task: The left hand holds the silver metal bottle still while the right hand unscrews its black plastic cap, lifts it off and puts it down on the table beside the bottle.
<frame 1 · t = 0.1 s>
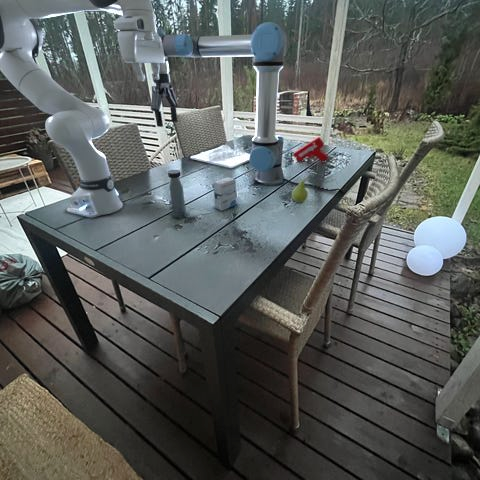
left hand: (149, 80, 86), 48 cm above the table, tool pointing down, fingers open, 8 cm apart
right hand: (167, 124, 132), 28 cm above the table, tool pointing down, fingers open, 13 cm apart
toy gun: (309, 161, 172), on the table
bottle: (180, 215, 112), on the table
relief map: (224, 158, 180), on the table
cap: (174, 172, 102), point 18 cm above the table, screwed on, not yet turned
ink box: (225, 206, 118), on the table
fruit: (299, 202, 122), on the table
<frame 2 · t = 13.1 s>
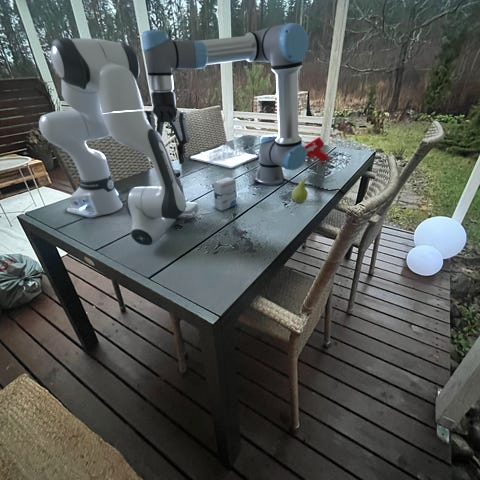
left hand: (178, 199, 109), 7 cm above the table, tool horizontal, fingers closed on bottle, 5 cm apart
right hand: (172, 162, 100), 22 cm above the table, tool pointing down, fingers open, 7 cm apart
bottle: (180, 215, 112), on the table, touching left hand
everything else where it was.
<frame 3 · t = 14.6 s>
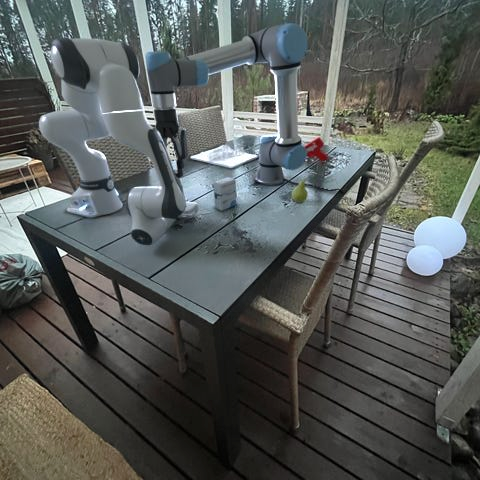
left hand: (178, 199, 109), 7 cm above the table, tool horizontal, fingers closed on bottle, 5 cm apart
right hand: (174, 176, 102), 17 cm above the table, tool pointing down, fingers closed on cap, 4 cm apart
bottle: (180, 215, 112), on the table, touching left hand
cap: (174, 172, 102), point 18 cm above the table, screwed on, not yet turned, touching right hand
everything else where it was.
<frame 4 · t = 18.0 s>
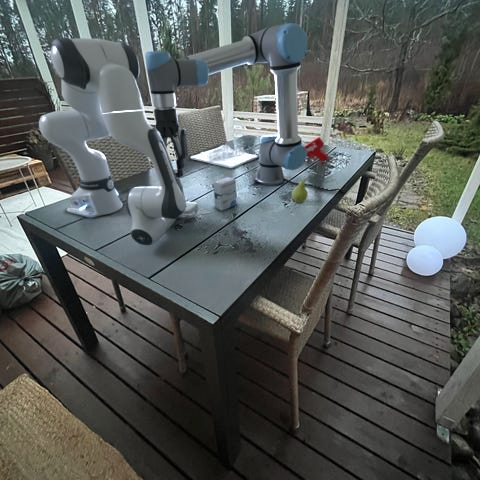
left hand: (178, 199, 109), 7 cm above the table, tool horizontal, fingers closed on bottle, 5 cm apart
right hand: (174, 175, 102), 17 cm above the table, tool pointing down, fingers closed on cap, 4 cm apart
bottle: (180, 215, 112), on the table, touching left hand
cap: (174, 172, 102), point 18 cm above the table, turned 108° so far, risen 0.1 cm, still on its thread, touching right hand
everything else where it was.
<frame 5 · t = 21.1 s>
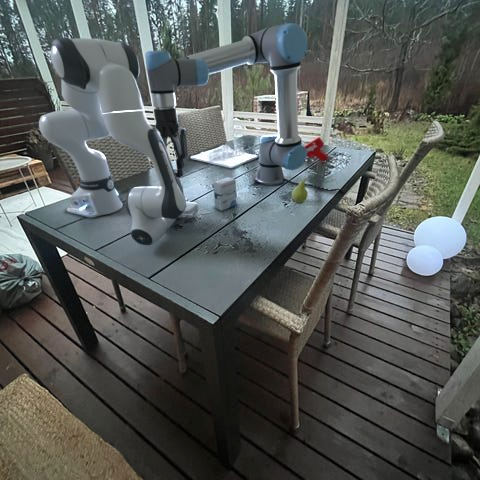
left hand: (178, 199, 109), 7 cm above the table, tool horizontal, fingers closed on bottle, 5 cm apart
right hand: (174, 175, 102), 17 cm above the table, tool pointing down, fingers closed on cap, 4 cm apart
bottle: (180, 215, 112), on the table, touching left hand
cap: (174, 171, 102), point 18 cm above the table, turned 216° so far, risen 0.2 cm, still on its thread, touching right hand
everything else where it was.
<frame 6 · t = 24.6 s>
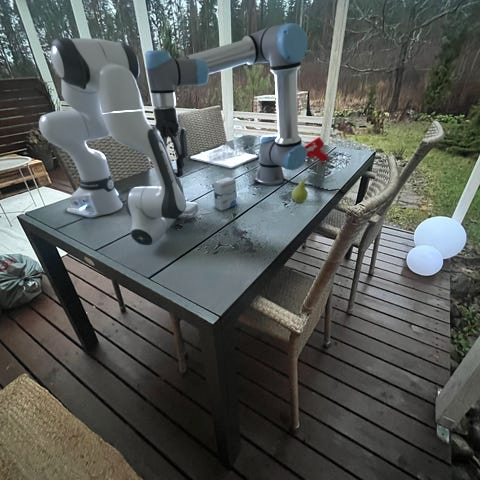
left hand: (178, 199, 109), 7 cm above the table, tool horizontal, fingers closed on bottle, 5 cm apart
right hand: (174, 175, 102), 17 cm above the table, tool pointing down, fingers closed on cap, 4 cm apart
bottle: (180, 215, 112), on the table, touching left hand
cap: (173, 171, 102), point 18 cm above the table, turned 324° so far, risen 0.3 cm, still on its thread, touching right hand
everything else where it was.
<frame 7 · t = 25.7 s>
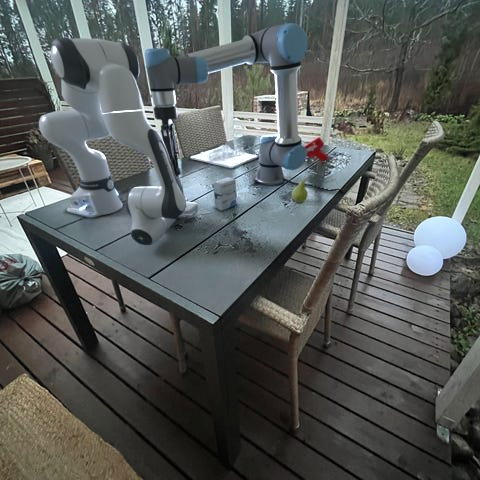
left hand: (178, 199, 109), 7 cm above the table, tool horizontal, fingers closed on bottle, 5 cm apart
right hand: (174, 174, 102), 17 cm above the table, tool pointing down, fingers closed on cap, 4 cm apart
bottle: (180, 215, 112), on the table, touching left hand
cap: (174, 170, 101), point 19 cm above the table, off its thread, touching right hand
everything else where it was.
when the right hand's fingers open (2 cm above the table, at t = 30.6 s): cap drops 2 cm, point 1 cm above the table.
when the left hand's fingers open (7 cm above the table, at t = 31.9 s): bottle stays where it is, on the table.
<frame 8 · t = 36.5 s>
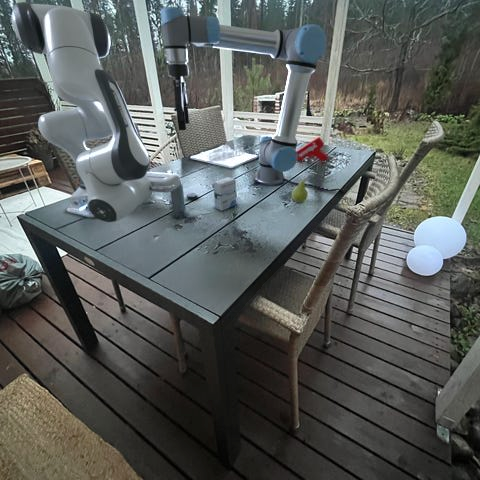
left hand: (157, 172, 90), 22 cm above the table, tool horizontal, fingers open, 8 cm apart
right hand: (184, 126, 109), 31 cm above the table, tool pointing down, fingers open, 13 cm apart
bottle: (180, 215, 112), on the table
cap: (191, 195, 125), point 1 cm above the table, off its thread
everything else where it was.
at the end: cap came off its thread; cap point 1.5 cm above the table; the left hand is holding nothing; the right hand is holding nothing; bottle tilted 0°; bottle moved 0.0 cm from its start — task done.
